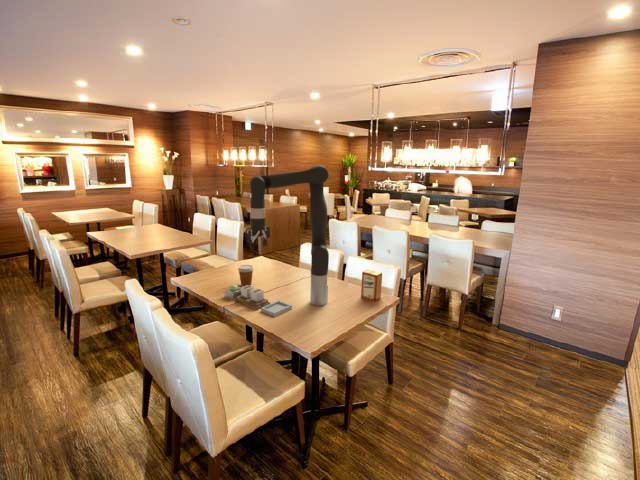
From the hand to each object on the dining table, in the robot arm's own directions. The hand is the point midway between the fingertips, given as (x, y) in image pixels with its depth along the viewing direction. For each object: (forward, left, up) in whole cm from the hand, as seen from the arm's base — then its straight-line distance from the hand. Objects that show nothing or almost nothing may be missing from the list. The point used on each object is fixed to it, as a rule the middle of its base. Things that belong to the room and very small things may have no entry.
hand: (258, 248), depth 168 cm
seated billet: (-2, -12, -32) cm, 34 cm away
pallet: (-2, -8, -33) cm, 34 cm away
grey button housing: (-1, -22, -33) cm, 40 cm away
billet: (-2, -4, -32) cm, 32 cm away
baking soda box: (-52, +39, -33) cm, 73 cm away
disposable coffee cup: (-18, -32, -33) cm, 50 cm away
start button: (-1, -22, -31) cm, 38 cm away
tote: (-4, +9, -33) cm, 35 cm away
